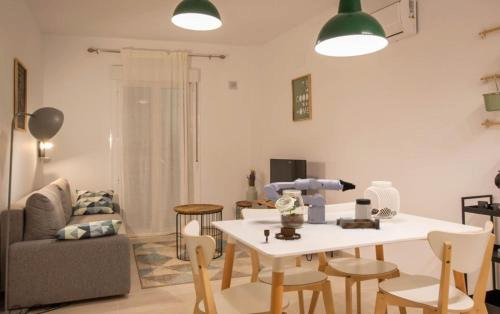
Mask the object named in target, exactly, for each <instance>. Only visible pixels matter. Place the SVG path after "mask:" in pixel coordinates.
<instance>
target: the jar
mask: <svg viewBox="0 0 500 314" xmlns="http://www.w3.org/2000/svg"><path fill="white" fill-rule="evenodd" d="M371 202H372V200H371V199H369V198H356V199H355V204H354V206H355V207H354V209H355V211H354V213H355V214H354V215H355V217H354V219H371V220H372V203H371Z"/></svg>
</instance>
